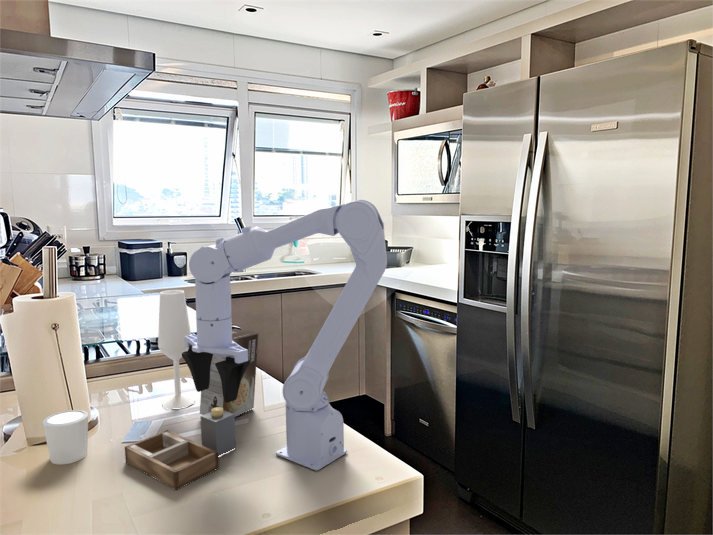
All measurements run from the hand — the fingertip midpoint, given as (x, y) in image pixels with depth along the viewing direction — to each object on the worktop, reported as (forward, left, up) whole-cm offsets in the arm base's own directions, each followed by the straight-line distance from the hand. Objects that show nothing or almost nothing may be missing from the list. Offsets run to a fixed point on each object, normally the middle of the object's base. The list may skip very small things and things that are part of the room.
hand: (216, 395), depth 94 cm
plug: (0, 0, -10) cm, 10 cm away
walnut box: (+2, +8, -10) cm, 13 cm away
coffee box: (+11, -11, -10) cm, 18 cm away
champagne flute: (+24, -8, -10) cm, 27 cm away
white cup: (+19, +17, -10) cm, 27 cm away
